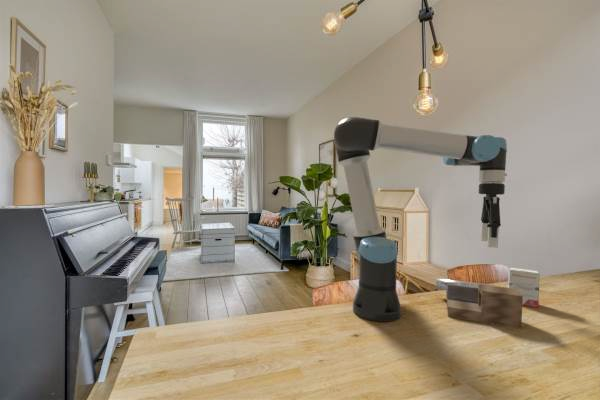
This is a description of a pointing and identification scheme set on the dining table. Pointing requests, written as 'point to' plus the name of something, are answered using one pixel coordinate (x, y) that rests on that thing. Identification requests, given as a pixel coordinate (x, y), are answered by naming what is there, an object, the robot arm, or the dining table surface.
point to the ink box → (525, 285)
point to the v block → (462, 293)
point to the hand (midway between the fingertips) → (488, 244)
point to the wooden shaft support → (491, 306)
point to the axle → (455, 283)
